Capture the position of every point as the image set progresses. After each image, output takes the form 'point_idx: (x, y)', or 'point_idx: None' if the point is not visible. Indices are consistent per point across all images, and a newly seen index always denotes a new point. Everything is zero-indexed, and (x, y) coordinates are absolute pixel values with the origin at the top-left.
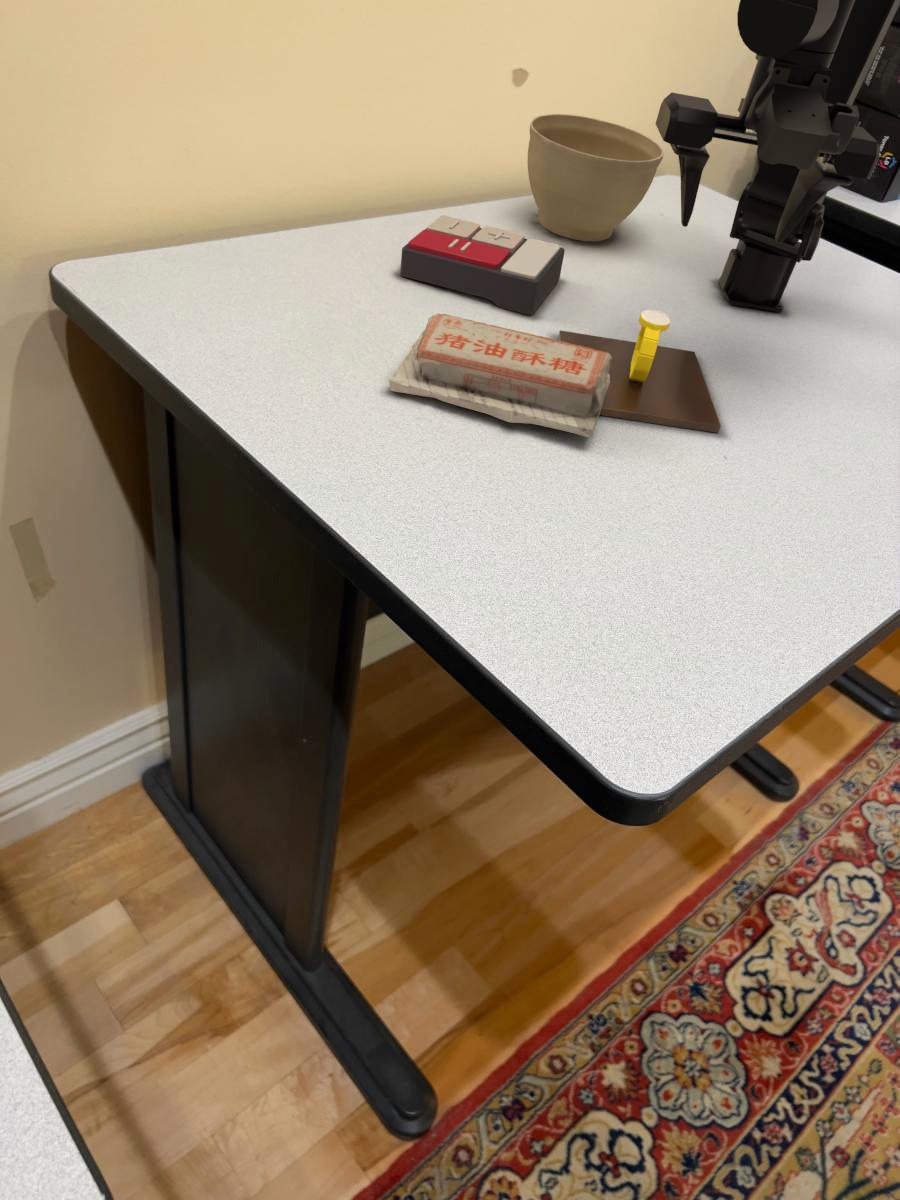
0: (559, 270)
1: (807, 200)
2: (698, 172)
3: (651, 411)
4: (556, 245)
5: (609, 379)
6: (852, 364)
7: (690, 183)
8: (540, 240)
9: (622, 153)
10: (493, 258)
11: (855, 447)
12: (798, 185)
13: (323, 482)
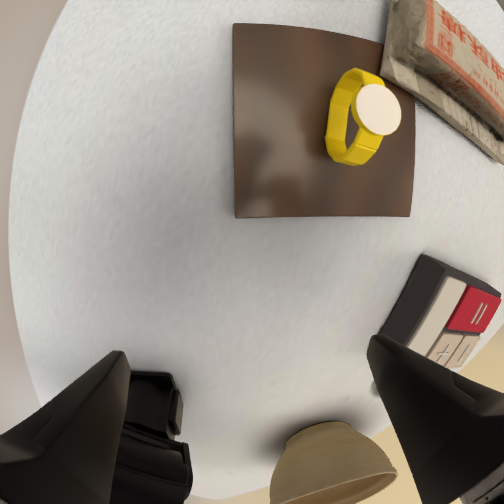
0: None
1: (45, 427)
2: (478, 408)
3: (324, 37)
4: None
5: (387, 64)
6: (38, 280)
7: (464, 383)
8: None
9: (290, 501)
10: (467, 300)
11: (60, 73)
12: (95, 485)
13: (496, 9)
